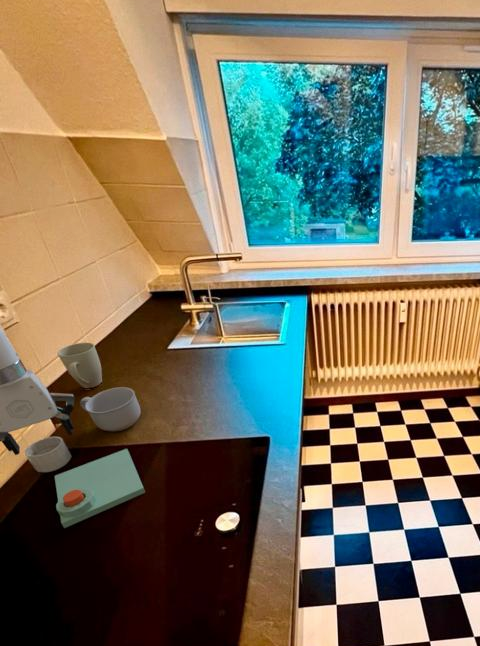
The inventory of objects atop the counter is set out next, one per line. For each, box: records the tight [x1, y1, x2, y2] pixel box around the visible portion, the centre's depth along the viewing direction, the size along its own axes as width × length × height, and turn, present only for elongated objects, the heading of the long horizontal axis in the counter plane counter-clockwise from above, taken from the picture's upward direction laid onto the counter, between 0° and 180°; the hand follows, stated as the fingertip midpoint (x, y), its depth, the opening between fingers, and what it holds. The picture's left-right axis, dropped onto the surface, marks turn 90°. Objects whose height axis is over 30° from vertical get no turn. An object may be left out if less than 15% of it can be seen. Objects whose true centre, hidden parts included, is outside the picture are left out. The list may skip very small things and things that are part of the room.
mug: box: [56, 342, 103, 389], centre depth 112 cm, size 11×10×12 cm
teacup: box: [79, 386, 142, 432], centre depth 97 cm, size 14×11×8 cm
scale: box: [54, 448, 146, 529], centre depth 79 cm, size 14×16×3 cm
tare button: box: [63, 490, 84, 507], centre depth 73 cm, size 3×3×2 cm
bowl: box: [24, 436, 72, 473], centre depth 85 cm, size 7×7×5 cm
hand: (44, 441), depth 84 cm, fingers open, 9 cm apart
